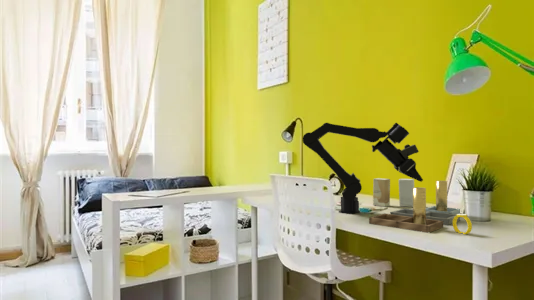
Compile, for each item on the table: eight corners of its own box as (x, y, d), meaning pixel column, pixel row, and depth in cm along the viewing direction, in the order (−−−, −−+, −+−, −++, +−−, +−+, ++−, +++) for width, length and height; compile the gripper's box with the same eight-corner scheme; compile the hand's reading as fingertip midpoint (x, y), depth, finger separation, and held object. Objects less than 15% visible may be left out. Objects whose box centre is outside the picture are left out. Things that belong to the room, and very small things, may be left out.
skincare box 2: (415, 205, 168) (414, 178, 168) (413, 207, 164) (413, 179, 164) (400, 205, 171) (400, 178, 171) (398, 206, 167) (398, 179, 167)
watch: (451, 232, 117) (449, 213, 118) (457, 232, 118) (456, 213, 119) (467, 235, 112) (466, 215, 112) (474, 234, 113) (472, 214, 113)
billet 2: (434, 214, 147) (434, 181, 147) (438, 213, 150) (438, 180, 150) (445, 215, 144) (444, 181, 144) (449, 214, 147) (448, 181, 147)
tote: (421, 214, 147) (421, 209, 147) (433, 210, 155) (433, 206, 155) (451, 218, 139) (451, 212, 139) (461, 214, 147) (461, 208, 147)
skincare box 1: (372, 205, 171) (372, 178, 171) (377, 204, 174) (377, 177, 174) (385, 207, 166) (385, 179, 166) (390, 205, 169) (390, 178, 169)
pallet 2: (390, 217, 142) (390, 212, 142) (404, 213, 150) (403, 208, 150) (448, 225, 127) (448, 219, 127) (460, 220, 135) (460, 214, 135)
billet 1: (411, 227, 124) (410, 188, 124) (416, 225, 127) (415, 187, 127) (423, 229, 122) (422, 189, 121) (428, 227, 124) (427, 187, 124)
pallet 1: (369, 223, 132) (369, 217, 132) (385, 218, 139) (384, 213, 139) (429, 232, 117) (429, 226, 117) (443, 227, 124) (443, 221, 124)
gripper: (409, 137, 140) (441, 166, 138) (401, 138, 158) (430, 164, 156) (387, 158, 142) (418, 187, 140) (382, 156, 160) (410, 183, 158)
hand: (419, 179), depth 148 cm, fingers open, 9 cm apart
